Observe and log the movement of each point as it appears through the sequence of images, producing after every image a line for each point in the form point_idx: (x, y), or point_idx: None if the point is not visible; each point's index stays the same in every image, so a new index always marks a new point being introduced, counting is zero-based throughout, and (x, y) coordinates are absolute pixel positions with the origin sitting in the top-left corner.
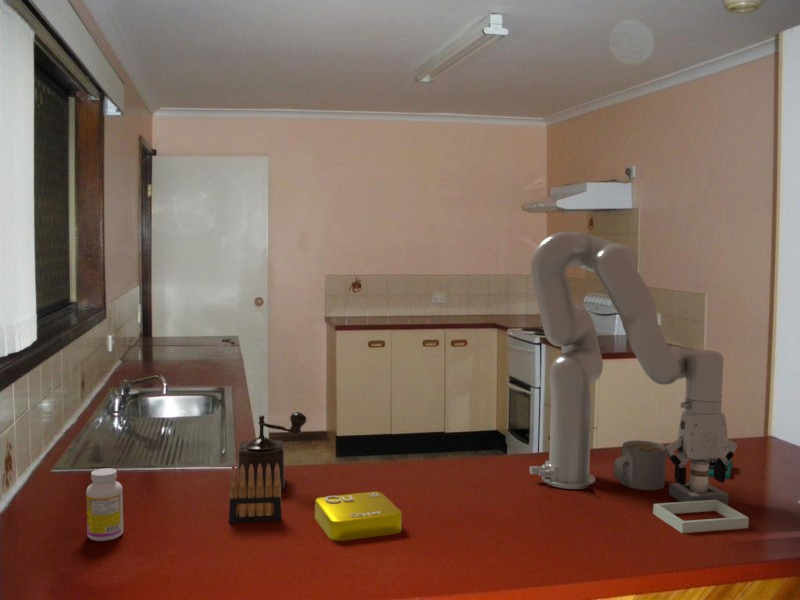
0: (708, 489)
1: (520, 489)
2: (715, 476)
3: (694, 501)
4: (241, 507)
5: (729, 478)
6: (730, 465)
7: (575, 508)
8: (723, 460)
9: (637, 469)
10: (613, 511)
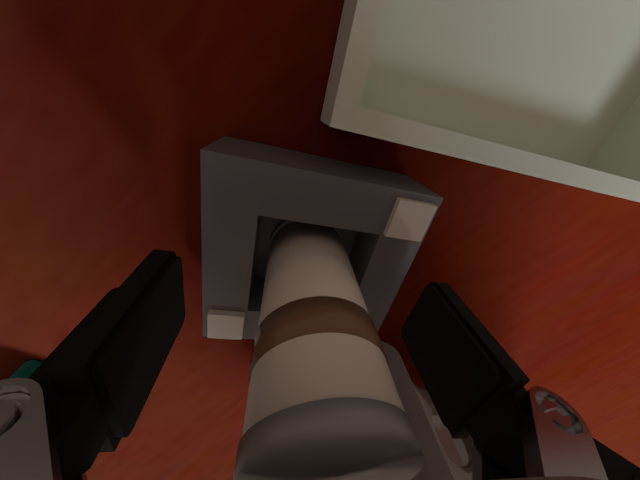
0: (252, 265)
1: (570, 399)
2: (176, 320)
3: (469, 154)
4: None
5: (16, 374)
6: None
7: (623, 309)
8: (15, 457)
9: (431, 429)
10: (586, 269)
